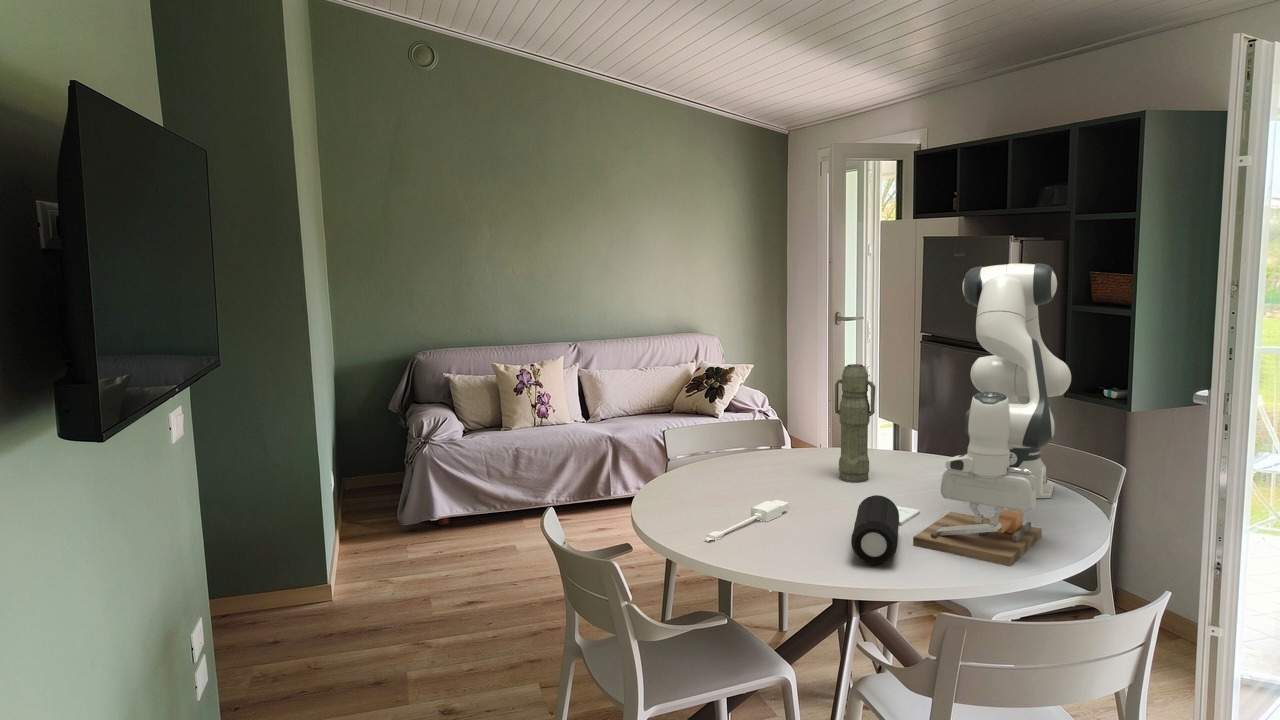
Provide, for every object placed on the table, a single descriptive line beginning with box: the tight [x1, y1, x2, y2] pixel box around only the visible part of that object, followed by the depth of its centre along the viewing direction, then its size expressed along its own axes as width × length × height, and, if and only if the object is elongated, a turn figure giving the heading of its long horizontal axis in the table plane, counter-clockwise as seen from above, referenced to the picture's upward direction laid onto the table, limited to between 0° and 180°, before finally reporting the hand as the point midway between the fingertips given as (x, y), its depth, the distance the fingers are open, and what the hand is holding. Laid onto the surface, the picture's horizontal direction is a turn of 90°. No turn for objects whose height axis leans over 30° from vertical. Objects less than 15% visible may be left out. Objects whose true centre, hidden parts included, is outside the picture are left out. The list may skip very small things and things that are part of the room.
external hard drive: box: [896, 505, 921, 527], centre depth 219 cm, size 2×8×12 cm
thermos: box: [834, 363, 876, 484], centre depth 253 cm, size 9×12×35 cm
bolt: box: [993, 508, 1024, 534], centre depth 198 cm, size 12×5×4 cm, turn 140°
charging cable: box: [705, 499, 790, 540], centre depth 214 cm, size 5×32×3 cm, turn 136°
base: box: [912, 511, 1043, 567], centre depth 199 cm, size 24×22×4 cm
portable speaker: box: [850, 494, 900, 565], centre depth 195 cm, size 26×10×10 cm, turn 162°
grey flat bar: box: [936, 523, 1002, 536], centre depth 195 cm, size 4×14×1 cm, turn 50°
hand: (986, 523), depth 191 cm, fingers closed
